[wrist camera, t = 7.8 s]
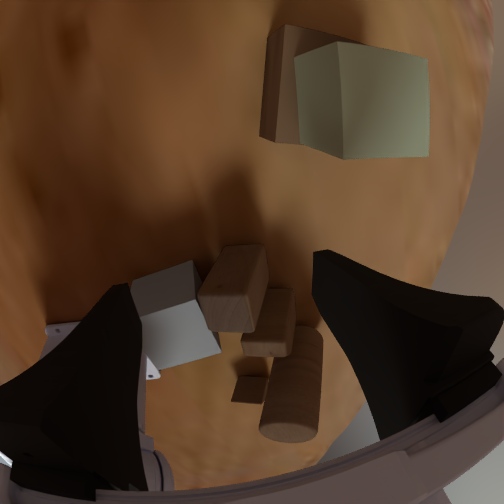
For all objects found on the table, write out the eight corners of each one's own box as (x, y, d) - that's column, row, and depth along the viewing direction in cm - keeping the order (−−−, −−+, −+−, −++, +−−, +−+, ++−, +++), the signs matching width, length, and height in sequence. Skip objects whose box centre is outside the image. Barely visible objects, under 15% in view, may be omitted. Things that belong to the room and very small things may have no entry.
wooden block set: (208, 236, 24) (148, 320, 15) (318, 229, 22) (316, 324, 13) (246, 379, 32) (224, 457, 23) (323, 381, 30) (316, 465, 21)
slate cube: (159, 326, 24) (157, 370, 20) (132, 280, 21) (123, 322, 17) (213, 309, 24) (221, 352, 20) (192, 259, 22) (195, 299, 17)
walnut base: (258, 135, 19) (275, 142, 15) (266, 38, 16) (285, 24, 12) (349, 145, 20) (379, 155, 17) (357, 58, 17) (390, 53, 14)
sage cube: (300, 143, 16) (343, 159, 11) (293, 57, 13) (337, 41, 9) (374, 140, 16) (428, 157, 12) (371, 63, 14) (427, 58, 10)
